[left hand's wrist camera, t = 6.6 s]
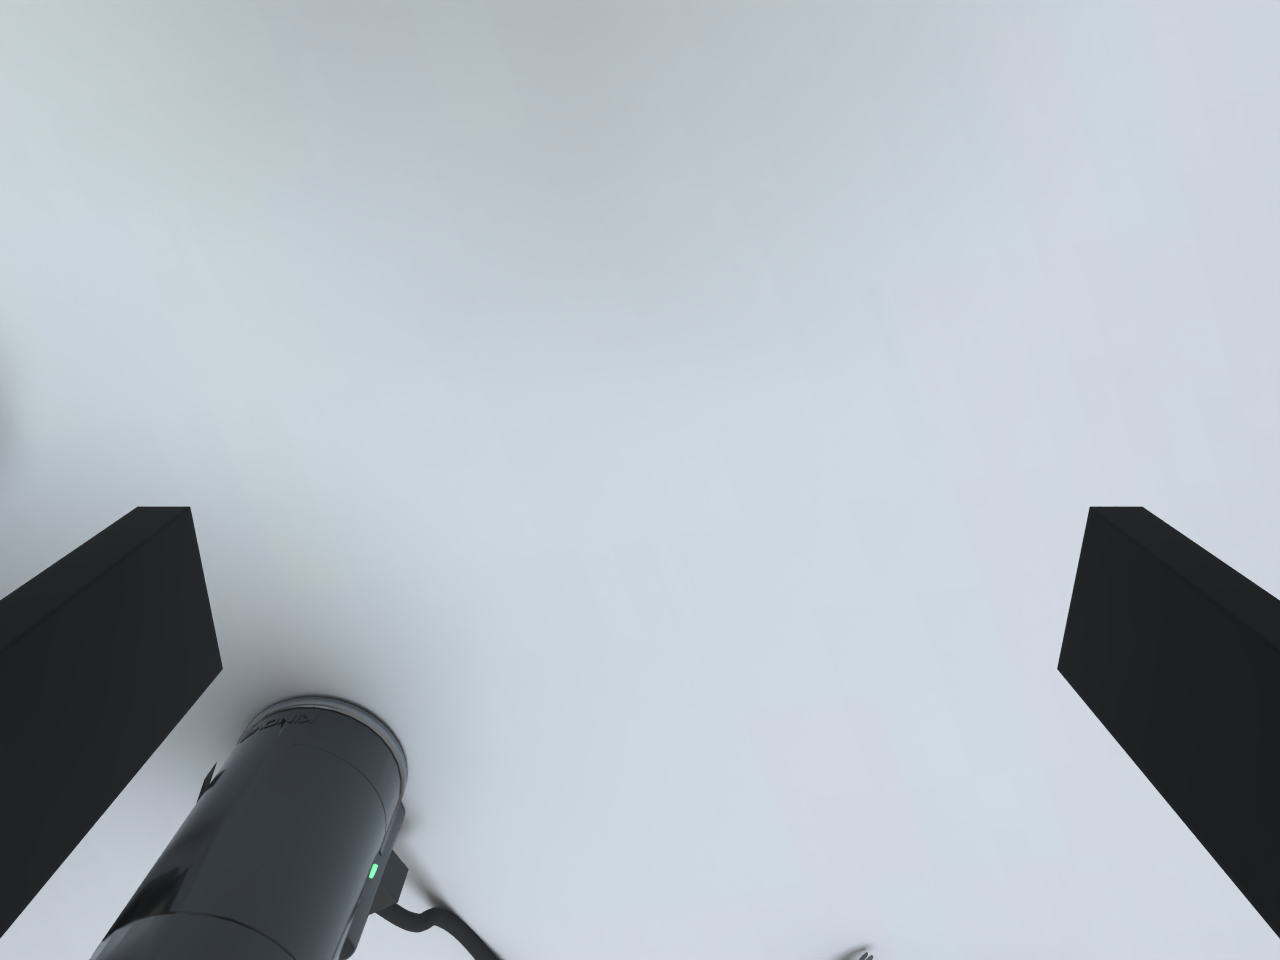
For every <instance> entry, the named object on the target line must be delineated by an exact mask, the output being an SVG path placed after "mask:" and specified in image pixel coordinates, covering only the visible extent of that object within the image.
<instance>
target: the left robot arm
mask: <svg viewBox="0 0 1280 960" xmlns="http://www.w3.org/2000/svg"><path fill="white" fill-rule="evenodd" d="M222 669H223V668H222V663H221V658H220V653H219V648H218V643H217V638H216V633H215V628H214V623H213V618H212V613H211V608H210V603H209V598H208V593H207V588H206V583H205V578H204V573H203V568H202V563H201V558H200V553H199V548H198V543H197V538H196V533H195V528H194V523H193V518H192V513H191V508H190V507H137V508H135V509H134V510H132V511H131V512H129V513H128V514H126V515H125V516H123V517H122V518H120V519H119V520H117V521H116V522H115V523H113V524H112V525H110V526H109V527H107V528H106V529H104V530H103V531H101V532H100V533H98V534H97V535H95V536H94V537H93V538H91V539H90V540H88V541H87V542H85V543H84V544H82V545H81V546H79V547H78V548H76V549H75V550H74V551H72V552H71V553H69V554H68V555H66V556H65V557H63V558H62V559H60V560H59V561H57V562H56V563H54V564H53V565H52V566H50V567H49V568H47V569H46V570H44V571H43V572H41V573H40V574H38V575H37V576H35V577H34V578H33V579H31V580H30V581H28V582H27V583H25V584H24V585H22V586H21V587H19V588H18V589H16V590H15V591H13V592H12V593H11V594H9V595H8V596H6V597H5V598H3V599H2V600H0V938H1V937H2V936H3V934H4V933H5V932H6V931H7V930H8V928H9V927H10V926H11V925H12V924H13V922H14V921H15V920H16V919H17V918H18V916H19V915H20V914H21V913H22V911H23V910H24V909H25V908H26V907H27V905H28V904H29V903H30V902H31V901H32V899H33V898H34V897H35V896H36V895H37V893H38V892H39V891H40V890H41V888H42V887H43V886H44V885H45V884H46V882H47V881H48V880H49V879H50V878H51V876H52V875H53V874H54V873H55V872H56V870H57V869H58V868H59V867H60V865H61V864H62V863H63V862H64V861H65V859H66V858H67V857H68V856H69V855H70V853H71V852H72V851H73V850H74V849H75V847H76V846H77V845H78V844H79V842H80V841H81V840H82V839H83V838H84V836H85V835H86V834H87V833H88V832H89V830H90V829H91V828H92V827H93V826H94V824H95V823H96V822H97V821H98V819H99V818H100V817H101V816H102V815H103V813H104V812H105V811H106V810H107V809H108V807H109V806H110V805H111V804H112V802H113V801H114V800H115V799H116V798H117V796H118V795H119V794H120V793H121V792H122V790H123V789H124V788H125V787H126V786H127V784H128V783H129V782H130V781H131V779H132V778H133V777H134V776H135V775H136V773H137V772H138V771H139V770H140V769H141V767H142V766H143V765H144V764H145V763H146V761H147V760H148V759H149V758H150V756H151V755H152V754H153V753H154V752H155V750H156V749H157V748H158V747H159V746H160V744H161V743H162V742H163V741H164V740H165V738H166V737H167V736H168V735H169V733H170V732H171V731H172V730H173V729H174V727H175V726H176V725H177V724H178V723H179V721H180V720H181V719H182V718H183V717H184V715H185V714H186V713H187V712H188V710H189V709H190V708H191V707H192V706H193V704H194V703H195V702H196V701H197V700H198V698H199V697H200V696H201V695H202V694H203V692H204V691H205V690H206V689H207V687H208V686H209V685H210V684H211V683H212V681H213V680H214V679H215V678H216V677H217V675H218V674H219V673H220V672H221V671H222ZM1057 669H1058V671H1059V672H1060V673H1061V674H1062V675H1063V677H1064V678H1065V679H1066V680H1067V681H1068V683H1069V684H1070V685H1071V686H1072V687H1073V689H1074V690H1075V691H1076V692H1077V694H1078V695H1079V696H1080V697H1081V698H1082V700H1083V701H1084V702H1085V703H1086V704H1087V706H1088V707H1089V708H1090V709H1091V710H1092V712H1093V713H1094V714H1095V715H1096V717H1097V718H1098V719H1099V720H1100V721H1101V723H1102V724H1103V725H1104V726H1105V727H1106V729H1107V730H1108V731H1109V732H1110V733H1111V735H1112V736H1113V737H1114V738H1115V740H1116V741H1117V742H1118V743H1119V744H1120V746H1121V747H1122V748H1123V749H1124V750H1125V752H1126V753H1127V754H1128V755H1129V756H1130V758H1131V759H1132V760H1133V761H1134V763H1135V764H1136V765H1137V766H1138V767H1139V769H1140V770H1141V771H1142V772H1143V773H1144V775H1145V776H1146V777H1147V778H1148V779H1149V781H1150V782H1151V783H1152V784H1153V786H1154V787H1155V788H1156V789H1157V790H1158V792H1159V793H1160V794H1161V795H1162V796H1163V798H1164V799H1165V800H1166V801H1167V802H1168V804H1169V805H1170V806H1171V807H1172V809H1173V810H1174V811H1175V812H1176V813H1177V815H1178V816H1179V817H1180V818H1181V819H1182V821H1183V822H1184V823H1185V824H1186V826H1187V827H1188V828H1189V829H1190V830H1191V832H1192V833H1193V834H1194V835H1195V836H1196V838H1197V839H1198V840H1199V841H1200V842H1201V844H1202V845H1203V846H1204V847H1205V849H1206V850H1207V851H1208V852H1209V853H1210V855H1211V856H1212V857H1213V858H1214V859H1215V861H1216V862H1217V863H1218V864H1219V865H1220V867H1221V868H1222V869H1223V870H1224V872H1225V873H1226V874H1227V875H1228V876H1229V878H1230V879H1231V880H1232V881H1233V882H1234V884H1235V885H1236V886H1237V887H1238V888H1239V890H1240V891H1241V892H1242V893H1243V895H1244V896H1245V897H1246V898H1247V899H1248V901H1249V902H1250V903H1251V904H1252V905H1253V907H1254V908H1255V909H1256V910H1257V911H1258V913H1259V914H1260V915H1261V916H1262V918H1263V919H1264V920H1265V921H1266V922H1267V924H1268V925H1269V926H1270V927H1271V928H1272V930H1273V931H1274V932H1275V933H1276V934H1277V936H1278V937H1279V938H1280V600H1278V599H1277V598H1275V597H1274V596H1272V595H1271V594H1269V593H1268V592H1267V591H1265V590H1264V589H1262V588H1261V587H1259V586H1258V585H1256V584H1255V583H1253V582H1252V581H1250V580H1249V579H1247V578H1246V577H1245V576H1243V575H1242V574H1240V573H1239V572H1237V571H1236V570H1234V569H1233V568H1231V567H1230V566H1228V565H1227V564H1226V563H1224V562H1223V561H1221V560H1220V559H1218V558H1217V557H1215V556H1214V555H1212V554H1211V553H1209V552H1208V551H1206V550H1205V549H1204V548H1202V547H1201V546H1199V545H1198V544H1196V543H1195V542H1193V541H1192V540H1190V539H1189V538H1187V537H1186V536H1185V535H1183V534H1182V533H1180V532H1179V531H1177V530H1176V529H1174V528H1173V527H1171V526H1170V525H1168V524H1167V523H1165V522H1164V521H1163V520H1161V519H1160V518H1158V517H1157V516H1155V515H1154V514H1152V513H1151V512H1149V511H1148V510H1146V509H1145V508H1143V507H1090V508H1089V513H1088V518H1087V523H1086V528H1085V533H1084V538H1083V543H1082V548H1081V553H1080V558H1079V563H1078V568H1077V573H1076V578H1075V583H1074V588H1073V593H1072V598H1071V603H1070V608H1069V613H1068V618H1067V623H1066V628H1065V633H1064V638H1063V643H1062V648H1061V653H1060V658H1059V663H1058V668H1057Z"/></svg>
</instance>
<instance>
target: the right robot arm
mask: <svg viewBox="0 0 1280 960" xmlns="http://www.w3.org/2000/svg"><path fill="white" fill-rule="evenodd" d="M216 763H217V762H216ZM215 766H216V764H215V765H214V767H213V768H212V769H211V771H210V772H209V774H208V775H207V776H206V778H205V779H204V782H203V785H202V788H201V791H200V794H199V797H198V800H197V803H196V805H195V807H194V808H193V809H192V811H191V812H190V814H189V815H188V817H187V818H186V820H185V821H184V823H183V824H182V825H181V827H180V828H179V830H178V831H177V833H176V834H175V836H174V837H173V839H172V840H171V841H170V843H169V844H168V846H167V847H166V849H165V850H164V852H163V853H162V855H161V856H160V857H159V859H158V860H157V862H156V863H155V865H154V866H153V868H152V869H151V870H150V872H149V873H148V875H147V876H146V878H145V879H144V881H143V882H142V884H141V885H140V886H139V888H138V889H137V891H136V892H135V894H134V895H133V897H132V898H131V900H130V901H129V902H128V904H127V905H126V907H125V908H124V910H123V911H122V913H121V914H120V915H119V917H118V918H117V920H116V921H115V923H114V924H113V926H112V927H111V929H110V930H109V931H108V933H107V934H106V936H105V937H104V939H103V940H102V942H101V943H100V945H99V946H98V947H97V949H96V950H95V952H94V953H93V955H92V956H91V958H90V959H89V960H346V959H348V958H350V957H351V956H352V955H353V954H354V952H355V950H356V948H357V946H358V943H359V940H360V937H361V934H362V932H363V929H364V926H365V923H366V921H367V918H368V915H370V914H372V913H377V914H378V915H380V916H381V917H383V918H384V919H386V920H387V921H389V922H391V923H392V924H394V925H396V926H398V927H400V928H402V929H404V930H407V931H411V932H422V931H424V930H427V929H429V928H430V927H432V926H434V925H435V926H438V927H440V928H442V929H444V930H446V931H447V932H449V933H450V934H451V935H453V936H454V937H455V938H456V939H457V940H458V941H459V942H460V943H461V944H462V945H463V946H464V947H465V948H466V949H467V950H468V952H469V953H470V954H471V955H472V956H473V957H474V959H475V960H497V959H496V957H495V956H494V955H493V954H492V952H491V951H490V950H489V949H488V948H487V946H486V945H485V944H484V943H483V942H482V940H481V939H480V938H479V937H478V936H477V935H476V934H475V933H474V932H473V930H472V929H471V928H470V927H468V926H467V925H466V924H465V923H464V922H463V921H462V920H460V919H459V918H457V917H456V916H454V915H453V914H451V913H449V912H447V911H445V910H443V909H441V908H437V907H435V908H431V909H428V910H426V911H424V912H423V913H421V914H417V913H413V912H410V911H408V910H406V909H404V908H402V907H401V906H399V905H398V904H396V903H397V902H398V900H399V897H400V894H401V891H402V888H403V885H404V882H405V879H406V876H407V872H408V868H407V867H406V866H405V864H404V863H403V862H402V861H401V860H400V858H399V857H398V856H397V855H396V853H395V852H394V851H393V850H392V849H393V846H394V843H395V840H396V838H397V835H398V832H399V829H400V827H401V824H402V821H403V818H404V815H405V811H404V809H403V807H402V805H401V799H402V796H403V794H404V791H405V787H406V782H407V765H406V760H405V757H404V754H403V751H402V749H401V747H400V745H399V743H398V742H397V740H396V738H395V737H394V736H393V734H392V733H391V732H390V731H389V730H388V728H387V727H386V726H385V725H383V724H382V723H381V722H380V721H379V720H378V719H376V718H375V717H374V716H372V715H371V714H369V713H368V712H366V711H364V710H362V709H361V708H358V707H356V706H354V705H352V704H349V703H346V702H343V701H339V700H336V699H330V698H323V697H301V698H294V699H290V700H286V701H283V702H280V703H277V704H275V705H273V706H271V707H269V708H267V709H266V710H264V711H263V712H261V713H260V714H259V715H258V716H257V717H256V718H255V719H254V720H253V721H252V722H251V723H250V724H249V726H248V727H247V729H246V730H245V732H244V733H243V734H242V736H241V737H240V739H239V741H238V743H237V745H236V748H235V749H234V751H233V752H232V753H231V755H230V756H229V758H228V759H227V761H226V762H225V764H224V765H223V766H222V768H221V769H220V771H219V772H218V773H217V775H216V776H215V778H214V779H213V780H212V782H211V783H210V781H211V778H212V775H213V772H214V769H215ZM209 784H210V785H209Z"/></svg>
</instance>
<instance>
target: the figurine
mask: <svg viewBox="0 0 1280 960" xmlns="http://www.w3.org/2000/svg"><path fill="white" fill-rule="evenodd" d="M867 956H868V953H867V952H866V953H865V954H864V955H863V956H862V957H861V958H860V959H859V960H864V959H865V958H866V957H867ZM872 959H873V956H872V955H871V956H870V957H868V958H867V959H866V960H872Z"/></svg>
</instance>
